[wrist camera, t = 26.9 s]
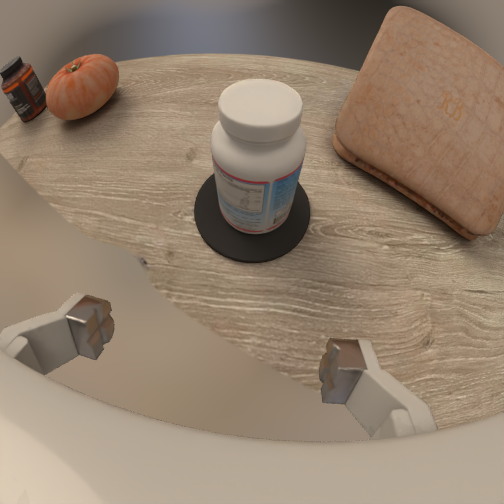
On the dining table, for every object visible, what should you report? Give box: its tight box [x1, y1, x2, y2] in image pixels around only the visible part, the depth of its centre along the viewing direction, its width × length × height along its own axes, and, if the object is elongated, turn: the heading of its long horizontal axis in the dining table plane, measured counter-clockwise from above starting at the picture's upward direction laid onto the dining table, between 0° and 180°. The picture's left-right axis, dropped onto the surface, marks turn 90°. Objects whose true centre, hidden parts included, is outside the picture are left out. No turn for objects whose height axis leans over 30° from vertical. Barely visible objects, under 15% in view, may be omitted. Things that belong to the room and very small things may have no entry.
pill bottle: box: [211, 79, 306, 234], centre depth 19 cm, size 6×6×11 cm
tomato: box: [46, 54, 119, 120], centre depth 27 cm, size 11×11×8 cm
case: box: [333, 6, 504, 240], centre depth 21 cm, size 20×21×16 cm
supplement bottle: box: [0, 56, 47, 121], centre depth 26 cm, size 6×6×11 cm
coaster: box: [194, 174, 310, 263], centre depth 24 cm, size 10×10×1 cm
